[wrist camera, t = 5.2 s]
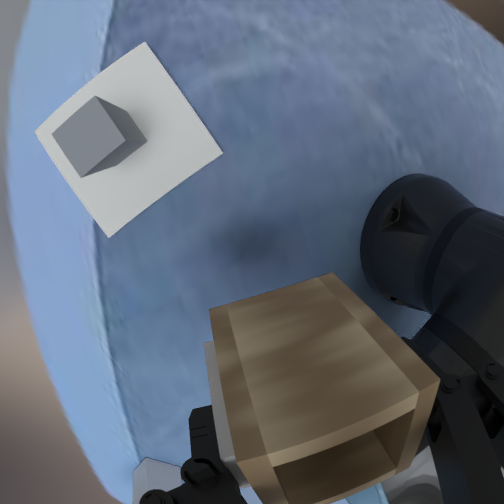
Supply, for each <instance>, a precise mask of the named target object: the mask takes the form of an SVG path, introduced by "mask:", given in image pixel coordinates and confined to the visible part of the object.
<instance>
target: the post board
mask: <svg viewBox="0 0 504 504" xmlns="http://www.w3.org/2000/svg"><path fill="white" fill-rule="evenodd" d="M35 134H36V135H37V137H38V139H39V140H40V142H41V143H42V145H43V147H44V148H45V150H46V151H47V153H48V154H49V156H50V157H51V159H52V160H53V162H54V163H55V165H56V166H57V168H58V169H59V171H60V172H61V174H62V175H63V177H64V178H65V180H66V181H67V182H68V184H69V185H70V187H71V188H72V190H73V191H74V192H75V194H76V195H77V197H78V198H79V199H80V201H81V202H82V203H83V205H84V206H85V207H86V209H87V210H88V212H89V213H90V214H91V216H92V217H93V218H94V219H95V221H96V222H97V223H98V225H99V226H100V227H101V229H102V230H103V231H104V232H105V234H106V235H107V236H108V238H110V237H111V236H112V235H113V234H114V233H116V232H117V231H118V230H119V229H121V228H122V227H123V226H124V225H126V224H127V223H128V222H129V221H131V220H132V219H133V218H134V217H136V216H137V215H138V214H140V213H141V212H142V211H143V210H145V209H146V208H147V207H149V206H150V205H151V204H153V203H154V202H155V201H157V200H158V199H159V198H161V197H162V196H163V195H165V194H166V193H167V192H169V191H170V190H171V189H173V188H174V187H176V186H177V185H178V184H180V183H181V182H182V181H184V180H185V179H187V178H188V177H190V176H191V175H192V174H194V173H195V172H197V171H198V170H200V169H201V168H202V167H204V166H205V165H207V164H208V163H210V162H211V161H213V160H214V159H216V158H217V157H219V156H220V155H222V154H223V152H222V151H221V149H220V148H219V146H218V145H217V143H216V142H215V140H214V139H213V137H212V136H211V134H210V133H209V132H208V130H207V129H206V127H205V126H204V124H203V123H202V121H201V120H200V118H199V117H198V116H197V114H196V113H195V111H194V110H193V108H192V107H191V105H190V104H189V103H188V101H187V100H186V98H185V97H184V95H183V94H182V93H181V91H180V90H179V88H178V87H177V86H176V84H175V83H174V81H173V80H172V78H171V77H170V76H169V74H168V73H167V71H166V70H165V69H164V67H163V66H162V64H161V63H160V62H159V60H158V59H157V58H156V56H155V55H154V53H153V52H152V51H151V49H150V48H149V46H148V45H147V44H146V42H143V43H142V44H140V45H139V46H137V47H136V48H134V49H133V50H131V51H130V52H128V53H127V54H125V55H124V56H123V57H121V58H120V59H118V60H117V61H116V62H114V63H113V64H111V65H110V66H109V67H107V68H106V69H105V70H103V71H102V72H101V73H99V74H98V75H97V76H96V77H94V78H93V79H92V80H91V81H89V82H88V83H87V84H86V85H84V86H83V87H82V88H81V89H80V90H78V91H77V92H76V93H75V94H74V95H73V96H71V97H70V98H69V99H68V100H67V101H66V102H65V103H64V104H62V105H61V106H60V107H59V108H58V109H57V110H56V111H55V112H54V113H53V114H52V115H51V116H50V117H49V118H48V119H47V120H46V121H45V122H44V123H43V124H42V125H41V126H40V127H39V128H38V129H37V130H36V131H35Z"/></svg>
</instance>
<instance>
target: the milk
mask: <svg viewBox="0 0 504 504" xmlns="http://www.w3.org/2000/svg"><path fill="white" fill-rule="evenodd" d="M181 485H182V484H181V473H180V467H178V466H174V465H171V464H167V463H164V462H160V461H157V460H153V459H150V458H147V457H146V458H145V459H144V460H143V461H142V462H141V464H140V465H139V466H138V467H137V468H136V469H135V470H134V471H133V504H139V501H140V499H141V497H142V496H143V494H145V493H146V492H147V491H150V490H153V489H161V490H164V491H166V492H167V491H170V490H172V489H174V488H177V487H179V486H181Z"/></svg>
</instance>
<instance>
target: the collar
mask: <svg viewBox="0 0 504 504" xmlns="http://www.w3.org/2000/svg"><path fill="white" fill-rule="evenodd" d="M209 313H210V319H211V326H212V333H213V339H214V345H215V351H216V358H217V364H218V369H219V375H220V381H221V387H222V392H223V398H224V403H225V408H226V414H227V419H228V424H229V429H230V434H231V439H232V444H233V449H234V454H235V458H236V462H237V464H238V466H239V467H240V469H241V471H242V472H243V474H244V476H245V477H246V479H247V480H248V482H249V483H250V485H251V487H252V488H253V490H254V491H255V493H256V494H257V496H258V497H259V499H260V500H261V502H262V503H263V504H331V503H333V502H336V501H338V500H341V499H344V498H346V497H349V496H351V495H353V494H356V493H358V492H360V491H363V490H365V489H367V488H369V487H372V486H374V485H376V484H378V483H380V482H382V481H384V480H386V479H388V478H390V477H392V476H394V475H396V474H398V473H400V472H402V471H404V470H405V469H407V468H409V467H410V466H411V464H412V461H413V459H414V456H415V454H416V452H417V449H418V447H419V444H420V441H421V439H422V436H423V433H424V431H425V428H426V425H427V422H428V419H429V416H430V413H431V410H432V407H433V404H434V400H435V397H436V394H437V390H438V387H439V383H440V378H439V377H438V376H437V375H436V374H435V373H434V372H433V371H432V370H431V369H430V368H429V367H428V366H427V365H426V364H425V363H424V362H423V361H422V360H421V359H420V358H419V356H418V355H417V354H416V353H415V352H414V351H413V350H412V349H411V348H410V347H409V346H408V345H407V344H406V343H405V342H404V341H403V340H402V339H401V338H400V337H399V336H398V335H397V334H396V333H395V332H394V331H393V330H392V329H391V328H390V327H389V326H388V325H387V324H386V323H385V322H384V321H383V320H382V319H381V318H380V317H379V316H378V315H377V314H376V313H375V312H374V311H373V310H372V309H371V308H369V307H368V306H367V305H366V304H365V303H364V302H363V301H362V300H361V299H360V298H359V297H358V296H357V295H356V294H355V293H354V292H353V291H352V290H351V289H350V288H349V287H348V286H347V285H346V284H345V283H344V282H342V281H341V280H340V279H339V278H338V277H337V276H336V275H335V274H334V273H333V272H331V273H328V274H325V275H322V276H319V277H316V278H312V279H309V280H306V281H303V282H300V283H297V284H293V285H290V286H287V287H284V288H280V289H277V290H274V291H270V292H267V293H264V294H260V295H257V296H253V297H250V298H247V299H243V300H240V301H236V302H233V303H229V304H226V305H222V306H219V307H215V308H211V309H209Z"/></svg>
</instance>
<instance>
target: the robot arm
mask: <svg viewBox="0 0 504 504" xmlns="http://www.w3.org/2000/svg"><path fill="white" fill-rule="evenodd" d="M361 262H362V267H363V271H364V274H365V276H366V278H367V280H368V282H369V283H370V285H371V286H372V287H373V288H374V289H375V290H376V291H377V292H379V293H380V294H381V295H382V296H383V297H384V298H386V299H387V300H389V301H391V302H393V303H395V304H399V305H404V306H407V307H410V308H413V309H417V310H421V311H424V312H428V313H430V314H431V315H432V316H431V318H430V319H429V320H428V321H427V322H426V323H425V325H424V326H423V327H422V328H421V329H420V330H419V331H418V332H417V334H416V335H415V336H414V337H413V338H412V339H411V340H410V339H407V338H405V337H402V338H401V339H402V340H403V341H404V342H405V343H406V344H407V345H408V346H409V347H410V348H411V349H412V350H413V351H414V352H415V353H416V354H417V355H418V356H419V358H420V359H421V360H422V361H423V362H424V363H425V364H426V365H427V366H428V367H429V368H430V369H431V370H432V371H433V372H434V373H435V374H436V375H437V376H438V377H439V378H440V383H439V387H438V390H437V394H436V397H435V400H434V404H433V407H432V410H431V413H430V416H429V419H428V422H427V425H426V428H425V431H424V433H423V436H422V439H421V441H420V444H419V447H418V449H417V452H416V454H415V456H414V459H413V461H412V464H411V466H410V467H409V468H407V469H405V470H404V471H402V472H400V473H398V474H396V475H394V476H392V477H390V478H388V479H386V480H384V481H382V482H380V483H378V484H376V485H374V486H372V487H369V488H367V489H365V490H363V491H360V492H358V493H356V494H353V495H351V496H349V497H346V498H345V499H346V500H347V502H348V503H349V504H504V217H503V216H500V215H497V214H495V213H492V212H489V211H486V210H483V209H481V208H478V207H476V206H475V205H474V204H473V203H471V202H470V201H469V200H468V199H467V198H466V197H464V196H463V195H462V194H461V193H460V192H458V191H457V190H456V189H455V188H453V187H452V186H451V185H450V184H449V183H447V182H445V181H444V180H442V179H439V178H436V177H432V176H428V175H423V174H413V175H408V176H405V177H403V178H401V179H399V180H397V181H396V182H394V183H393V184H391V185H390V186H389V187H388V188H387V189H386V190H385V191H384V192H383V193H382V194H381V195H380V197H379V198H378V199H377V201H376V202H375V204H374V206H373V207H372V209H371V211H370V213H369V215H368V218H367V220H366V223H365V226H364V230H363V234H362V240H361ZM204 348H205V356H206V364H207V372H208V380H209V387H210V395H211V402H212V405H209V406H205V407H200V408H196V409H193V410H192V412H191V415H190V417H189V430H190V443H191V455H192V457H191V458H190V459H188V460H187V461H186V462H185V463H184V464H183V466H182V468H181V472H180V473H181V478H182V479H183V481H184V482H185V483H184V484H183V485H181V486H179V487H177V488H174V489H172V490H170V491H167V492H166V491H164V490H161V489H153V490H150V491H147V492H146V493H145V494H143V496H142V497H141V499H140V501H139V504H247V502H246V501H245V499H244V498H243V497H242V495H241V493H240V489H239V486H240V488H241V489H242V488H247V487H251V485H250V483H249V482H248V480H247V479H246V477H245V476H244V474H243V472H242V471H241V469H240V467H239V466H238V464H237V462H236V458H235V454H234V449H233V444H232V439H231V434H230V429H229V424H228V419H227V414H226V408H225V403H224V398H223V392H222V387H221V381H220V375H219V369H218V364H217V358H216V351H215V345H214V341H211V342H207V343H204Z"/></svg>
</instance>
